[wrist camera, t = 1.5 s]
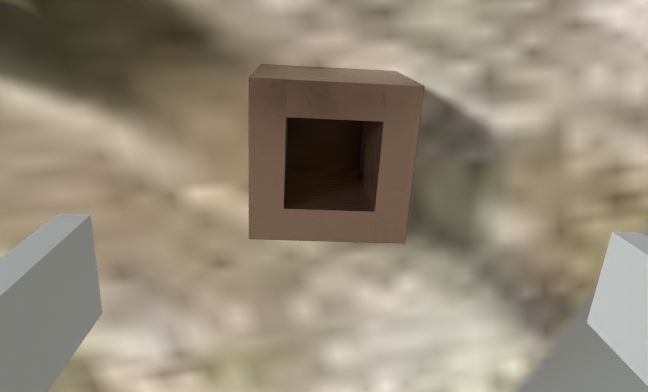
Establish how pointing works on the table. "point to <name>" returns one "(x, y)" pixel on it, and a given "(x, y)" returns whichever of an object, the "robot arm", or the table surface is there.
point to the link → (332, 185)
